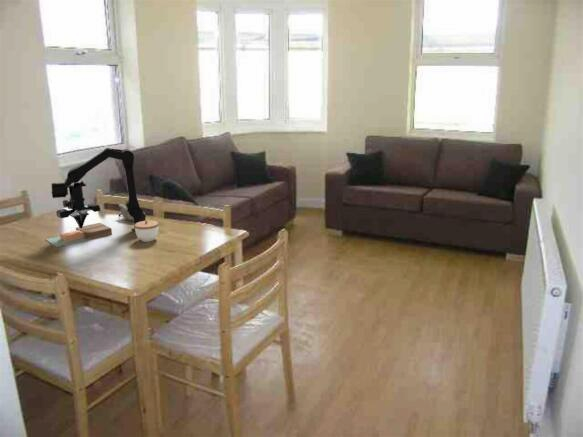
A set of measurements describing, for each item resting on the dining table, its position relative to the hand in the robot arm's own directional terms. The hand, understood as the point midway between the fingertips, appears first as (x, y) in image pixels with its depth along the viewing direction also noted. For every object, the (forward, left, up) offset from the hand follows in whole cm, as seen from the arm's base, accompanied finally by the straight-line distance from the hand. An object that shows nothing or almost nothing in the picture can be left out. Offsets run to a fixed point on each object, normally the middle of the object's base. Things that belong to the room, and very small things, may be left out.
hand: (80, 228), depth 256 cm
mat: (0, +7, -4) cm, 8 cm away
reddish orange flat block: (-1, +5, -4) cm, 6 cm away
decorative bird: (+11, -29, -5) cm, 32 cm away
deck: (0, -6, -4) cm, 7 cm away
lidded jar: (-26, -20, -4) cm, 33 cm away
